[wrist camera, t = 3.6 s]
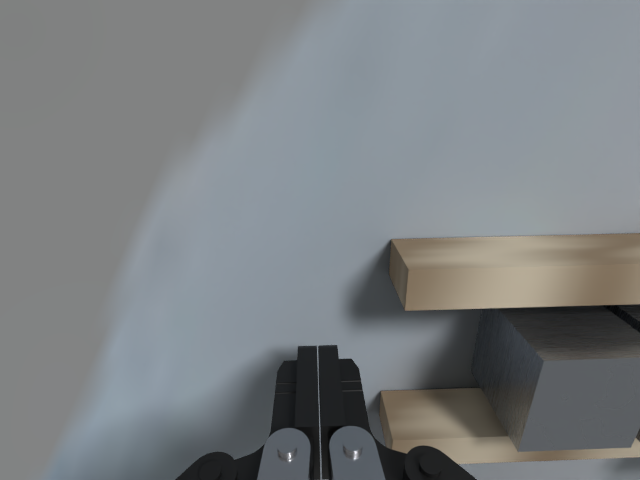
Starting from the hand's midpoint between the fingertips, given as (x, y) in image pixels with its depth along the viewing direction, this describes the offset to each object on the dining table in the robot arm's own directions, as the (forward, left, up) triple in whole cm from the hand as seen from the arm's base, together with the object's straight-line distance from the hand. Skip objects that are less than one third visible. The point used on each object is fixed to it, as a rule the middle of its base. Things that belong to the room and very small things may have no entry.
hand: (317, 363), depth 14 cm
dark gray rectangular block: (-9, 0, -2) cm, 9 cm away
